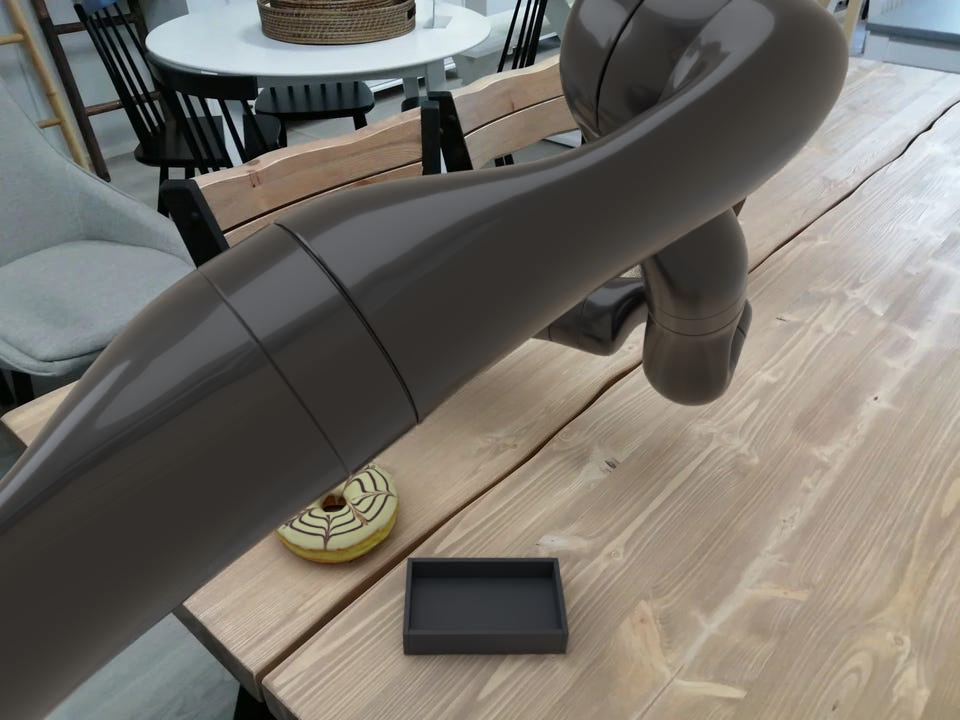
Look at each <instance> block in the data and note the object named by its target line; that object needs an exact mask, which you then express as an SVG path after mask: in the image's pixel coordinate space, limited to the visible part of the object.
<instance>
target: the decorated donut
mask: <svg viewBox="0 0 960 720" xmlns="http://www.w3.org/2000/svg"><path fill="white" fill-rule="evenodd" d="M330 506H344V507H343V508H341V510H337V511H331V512H330V511H327V512H326V511H324V509H325V508H326V507H330ZM399 507H400V498H399V495H398V492H397V487H396V486H395V483H394V481H393V476H392V475H391V474H390V473H389V472H387V471H386V470H384V469H383V468H382V469H381V468H380V466H379V465H377V464H375V463H373V462H371V463H370V464H368V465H367V466H366V467H364V468H363V469H362V470H360V471H359V472H358V473H356V474H355V475H354V476H353V477H349V479H348V480H347V481H345V482H344V483H343V484H341V485H340V486H338V487H337V488H335V489H334V490H332V491H331V492H329V493H328V494H327V495H325V496H324V497H322V498H321V499H319V500H318V501H316V502H315V503H314V504H312V505H311V506H309V507H308V508H306V509H305V510H303V511H302V512H301V513H299V514H298V515H296V516H295V517H294V518H292V519H291V520H290V521H288V522H287V523H285V524H284V525H283V526H281V527H280V528H279V529H277V530H276V531H275V532H274V533H275V534H276V536H277V537H278V539H279V540H280V541H281V542H282V544H283V545H284V546H285V547H286V548H287V549H288V550H290V551H291V552H292V553H294V554H295V555H296V557H297V556H298V557H299V558H300V557H301V558H303V559H306V560H307V561H312V562H316V563H321V564H323V563H329V564H331V563H332V564H333V563H334V564H337V563H344V562H345V563H347V562H349V561H352V560H355V559H357V558H359V557H361V556H363V555H365V554H367V553H369V552H370V551H371V550H372V549H373V548H374V547H376V546H377V545H379V544H380V543H381V542H382V541H383V540H385V539H386V538H387V537H388V536H389V534H390V533H391V530H392V529H393V528H394V525H395V523H396V519H397V514H398V512H399V509H400V508H399Z"/></svg>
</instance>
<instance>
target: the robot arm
mask: <svg viewBox="0 0 960 720" xmlns="http://www.w3.org/2000/svg"><path fill="white" fill-rule="evenodd" d="M849 47H850V46H849V42H848V39H847V36H846V33H845V30H844V28H843V27H842V25H841V24H840V23H839V21H838V19H837V18H836V17H835V16H834V15H833V14H832V13H831V12H830V11H829V10H828V9H826V8H825V7H824V6H823V5H821V3H819V2H817V1H816V0H574V1H573V3H572V4H571V7H570V9H569V12H568V15H567V18H566V20H565V23H564V26H563V30H562V36H561V41H560V46H559V55H558V68H559V69H558V70H559V71H558V72H559V78H560V79H559V80H560V85H561V89H562V90H561V91H562V94H563V97H564V99H565V102H566V105H567V108H568V110H569V112H570V114H571V116H572V118H573V120H574V122H575V124H576V126H577V127H578V129H579V131H580V133H581V135H582V137H583V138H584V141H585V143H583V144H580V145H579V146H575V147H573V148H571V149H568V150H565V151H562V152H560V153H557V154H553V155H550V156H547V157H543V158H538V159H535V160H531V161H526V162H520V163H514V164H507V165H502V166H497V167H496V166H495V167H487V168H478V169H470V170H460V171H452V172H442V173H433V174H426V175H418V176H410V177H402V178H396V179H391V180H383V181H377V182H373V183H368V184H364V185H359V186H354V187H350V188H346V189H340V190H337V191H334V192H331V193H328V194H325V195H323V196H319V197H317V198H315V199H312V200H310V201H307V202H305V203H303V204H301V205H298V206H297V207H295V208H293V209H291V210H290V211H288V212H286V213H284V214H282V215H280V216H278V217H277V218H275V219H274V220H273V222H272V223H271V222H269V223H267V224H265V225H264V226H263V227H261V228H259V229H258V230H256V231H254V232H253V233H251V234H250V235H248V236H247V237H245V238H243V239H242V240H240V241H238V242H236V243H235V244H234V245H231V247H228V248H227V249H225V250H224V251H222V252H221V253H219V254H217V255H215V256H214V257H212V258H211V259H209V260H207V261H206V262H205V263H203V264H201V265H199V266H198V268H197V269H196V268H195V269H194V270H192V271H190V272H188V273H187V274H186V275H184V276H183V277H181V278H180V279H179V280H177V281H176V282H174V283H173V284H171V285H170V286H169V287H168V288H166V289H165V290H164V291H162V292H161V293H160V294H158V295H157V296H156V297H155V298H153V299H152V300H151V301H149V303H148V304H146V306H144V308H142V309H141V310H140V311H139V312H138V313H137V314H136V315H135V316H134V317H133V318H132V319H131V320H130V321H129V322H128V323H127V324H126V325H125V326H124V327H123V328H122V329H121V330H120V332H118V334H116V336H115V337H114V338H113V339H111V341H110V342H109V344H108V345H106V347H105V348H104V350H103V351H102V352H101V353H100V354H99V355H98V356H97V358H96V359H95V360H94V361H93V362H92V363H91V365H90V366H89V367H88V368H87V370H86V371H85V372H84V373H83V375H82V376H81V377H80V379H78V381H77V382H76V383H75V385H74V386H73V387H72V388H71V389H70V391H69V392H68V394H67V395H66V396H65V398H64V399H63V400H62V401H61V402H60V404H59V405H58V406H57V408H56V409H55V411H54V412H53V413H52V415H51V416H50V417H49V419H48V420H47V421H46V423H44V425H43V426H42V427H41V429H40V430H39V432H38V433H37V434H36V436H35V437H34V439H33V440H32V441H31V443H29V445H28V446H27V448H26V449H25V450H24V451H23V453H22V454H21V456H20V457H19V458H18V459H17V460H16V462H15V463H14V464H13V466H12V467H11V468H10V469H9V471H7V473H6V474H5V475H4V476H3V477H2V478H1V480H0V720H46V719H47V718H48V717H50V716H51V715H52V713H54V712H55V711H56V710H58V708H60V706H62V705H63V704H65V702H66V701H67V700H68V699H69V698H71V697H72V696H73V695H74V694H76V692H77V691H79V690H80V689H81V688H82V687H83V686H84V685H86V684H87V683H88V682H89V681H90V680H92V678H94V677H95V676H96V675H97V674H98V673H99V672H100V671H102V669H104V668H105V667H106V666H107V665H108V664H110V663H111V662H112V661H113V660H114V659H116V658H117V657H118V656H120V654H122V653H123V652H124V651H125V650H126V649H128V648H129V647H130V646H132V645H133V644H134V643H135V642H136V641H138V640H139V639H140V638H141V637H142V636H144V635H145V634H147V632H149V631H150V630H151V629H152V628H154V627H155V626H156V625H158V624H159V623H160V622H162V621H163V620H164V619H165V618H166V617H167V616H168V615H171V613H172V612H174V611H175V610H177V609H178V608H179V607H180V606H181V605H183V604H184V603H185V602H186V601H188V600H189V599H190V598H192V596H194V595H195V594H197V593H198V592H199V591H201V590H202V589H203V588H204V587H205V586H207V585H208V584H209V583H210V582H212V581H213V580H214V579H216V578H217V577H218V576H219V575H221V574H222V573H223V572H224V571H225V570H227V569H228V568H229V567H231V566H232V565H233V564H235V562H237V561H238V560H239V559H240V558H242V557H244V556H245V555H246V554H247V553H248V552H250V551H251V550H252V549H254V548H255V547H257V546H258V545H259V544H260V543H262V542H263V541H265V540H266V539H267V538H268V537H270V536H271V535H272V534H273V533H276V532H275V531H276V530H277V529H279V528H280V527H281V526H283V525H284V524H285V523H287V522H288V521H290V520H291V519H292V518H294V517H295V516H296V515H298V514H299V513H301V512H302V511H303V510H305V509H306V508H308V507H309V506H311V505H312V504H314V503H315V502H316V501H318V500H319V499H321V498H322V497H324V496H325V495H327V494H328V493H329V492H331V491H332V490H334V489H335V488H337V487H338V486H340V485H341V484H343V483H344V482H345V481H347V480H348V479H349V477H353V476H354V475H355V474H356V473H358V472H359V471H360V470H362V469H363V468H364V467H366V466H367V465H368V464H370V463H373V462H374V461H375V460H376V459H378V458H379V457H381V456H382V455H383V454H384V453H386V452H387V451H388V450H390V449H391V448H392V447H394V446H395V445H396V444H398V443H400V441H402V440H403V439H404V438H406V437H407V436H408V435H409V434H411V433H412V432H413V431H415V430H416V429H417V427H420V426H422V425H423V424H424V423H425V422H426V421H428V420H429V419H430V418H431V417H432V416H434V415H435V414H436V413H437V412H439V411H440V410H441V409H442V408H444V407H445V406H446V405H447V404H448V403H449V402H450V401H452V400H453V399H454V398H456V397H457V396H458V395H459V394H460V393H461V392H463V391H464V390H465V389H467V388H468V387H470V385H472V384H473V383H474V382H475V381H476V380H477V379H479V378H480V377H481V376H483V375H484V374H485V373H486V372H488V371H489V370H491V369H492V368H493V367H494V366H496V365H497V364H498V363H500V362H501V361H502V360H504V359H505V358H507V357H508V356H509V355H510V354H511V353H514V351H516V350H518V349H519V348H520V347H521V346H522V345H524V344H525V343H527V342H528V341H529V340H531V339H533V340H541V341H545V342H546V341H547V342H550V343H555V344H558V345H562V346H565V347H568V348H571V349H575V350H577V351H581V352H583V353H588V354H591V355H595V356H599V357H611V356H613V355H614V354H616V353H617V352H618V351H619V350H620V349H621V348H622V347H623V345H624V344H625V343H626V341H627V340H628V338H629V337H630V335H631V334H632V333H633V331H634V330H635V329H636V328H638V326H640V325H642V324H644V323H645V327H644V333H643V343H642V352H641V353H642V355H641V365H642V371H643V373H644V376H645V378H646V381H647V382H648V383H649V385H650V386H651V387H652V388H653V390H654V391H655V392H656V393H658V395H660V396H661V397H663V398H664V399H666V400H668V401H669V402H672V403H673V404H677V405H681V406H685V407H702V406H706V405H709V404H712V403H715V402H716V401H717V400H719V399H720V398H721V397H723V396H724V395H725V393H726V392H727V391H728V389H729V388H730V385H731V383H732V380H733V378H734V375H735V373H736V368H737V366H738V362H739V359H740V356H741V353H742V351H743V347H744V345H745V341H746V339H747V337H748V333H749V330H750V327H751V325H752V322H753V321H752V320H753V307H752V304H751V302H750V301H749V299H748V298H747V292H748V280H749V268H750V266H749V265H750V260H749V251H748V246H747V242H746V238H745V234H744V232H743V229H742V227H741V224H740V221H739V219H738V217H736V215H735V213H734V210H733V208H732V206H734V205H735V204H737V203H738V202H740V201H741V200H743V199H745V198H746V197H747V198H748V197H749V196H750V195H752V194H753V193H754V192H756V191H757V190H758V189H760V188H761V187H762V186H763V185H764V184H766V183H767V182H768V181H770V180H771V179H772V178H773V177H774V176H775V175H777V174H778V173H779V172H780V171H781V170H782V169H783V168H785V167H786V166H787V165H788V164H789V163H790V162H791V161H792V160H793V159H794V158H795V157H796V156H797V155H798V154H799V153H800V152H801V151H802V150H803V149H804V147H805V146H806V145H807V144H808V143H809V142H810V141H811V139H812V138H813V137H814V136H815V135H816V133H817V132H818V131H819V129H820V128H822V126H823V124H825V122H826V120H827V119H828V117H829V115H830V114H831V112H832V110H833V109H834V107H835V105H836V103H837V102H838V100H839V98H840V95H841V93H842V91H843V88H844V86H845V82H846V78H847V74H848V71H849V61H850V48H849ZM747 198H746V199H747ZM637 266H638V267H639V271H640V276H641V277H640V276H639V277H638V276H637V277H636V276H635V277H634V276H632V277H631V276H623V275H624V274H626V273H628V272H629V271H631V270H633V269H634V268H636V267H637Z"/></svg>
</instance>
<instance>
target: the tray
mask: <svg viewBox="0 0 960 720" xmlns="http://www.w3.org/2000/svg"><path fill="white" fill-rule="evenodd" d="M406 562H407V563H406V576H405V592H404V608H403V622H402V623H403V624H402V651H403V655H404V656H416V655H417V656H420V655H421V656H422V655H423V656H426V655H427V656H428V655H429V656H433V655H435V656H438V655H439V656H440V655H443V656H444V655H445V656H446V655H565V654H566V653H567V649H568V641H569V636H570V631H569V624H568V618H567V617H568V616H567V611H566V604H565V596H564V590H563V582H562V575H561V569H560V561H559V557H407V559H406Z"/></svg>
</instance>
